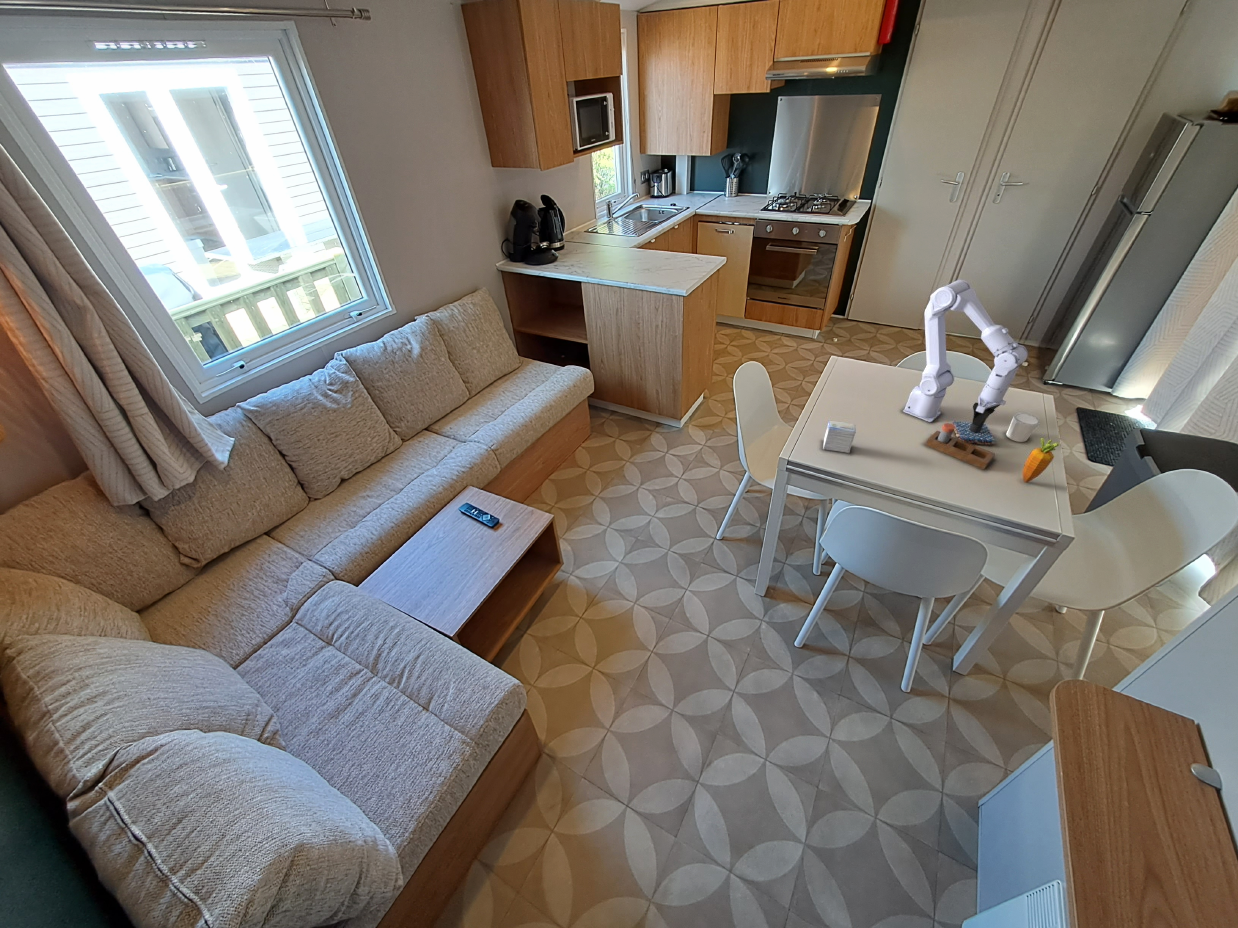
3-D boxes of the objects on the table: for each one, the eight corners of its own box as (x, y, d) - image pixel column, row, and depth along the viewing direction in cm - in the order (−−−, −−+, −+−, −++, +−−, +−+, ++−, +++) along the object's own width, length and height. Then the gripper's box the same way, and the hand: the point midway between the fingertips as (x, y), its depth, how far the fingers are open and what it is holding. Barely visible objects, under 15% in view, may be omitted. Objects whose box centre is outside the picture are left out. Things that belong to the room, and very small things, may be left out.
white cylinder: (1033, 443, 155) (1044, 425, 150) (1008, 442, 156) (1019, 424, 152) (1024, 431, 160) (1034, 413, 155) (1000, 429, 161) (1010, 411, 157)
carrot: (1010, 477, 144) (1035, 436, 134) (1027, 475, 144) (1053, 434, 134) (1022, 488, 140) (1049, 447, 130) (1039, 486, 140) (1067, 445, 131)
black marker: (967, 430, 158) (976, 411, 154) (971, 426, 160) (980, 407, 155) (977, 434, 157) (988, 415, 152) (981, 430, 158) (991, 411, 153)
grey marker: (933, 445, 157) (941, 426, 152) (937, 440, 158) (946, 421, 154) (943, 449, 155) (952, 430, 150) (947, 445, 156) (957, 426, 152)
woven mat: (984, 427, 162) (986, 422, 161) (995, 446, 155) (998, 441, 153) (949, 424, 165) (951, 419, 163) (958, 443, 157) (960, 438, 155)
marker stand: (925, 445, 157) (927, 439, 155) (934, 436, 160) (937, 430, 159) (983, 469, 147) (987, 463, 145) (992, 459, 150) (995, 453, 148)
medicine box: (848, 445, 159) (855, 423, 153) (849, 453, 156) (856, 431, 150) (823, 441, 161) (829, 419, 156) (822, 449, 158) (828, 427, 152)
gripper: (1003, 399, 142) (983, 437, 150) (1021, 381, 149) (1001, 417, 157) (976, 390, 146) (958, 427, 155) (995, 373, 153) (976, 409, 162)
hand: (978, 422), depth 156 cm, fingers open, 3 cm apart
